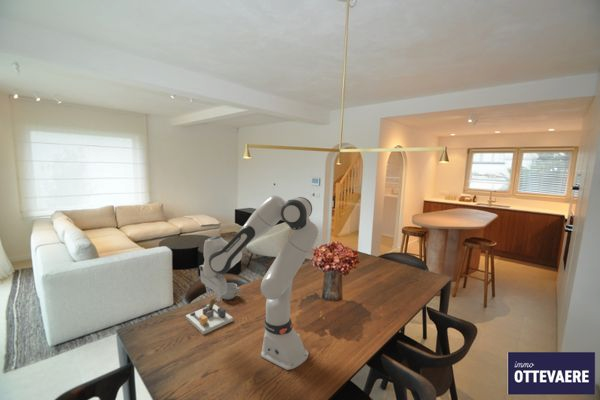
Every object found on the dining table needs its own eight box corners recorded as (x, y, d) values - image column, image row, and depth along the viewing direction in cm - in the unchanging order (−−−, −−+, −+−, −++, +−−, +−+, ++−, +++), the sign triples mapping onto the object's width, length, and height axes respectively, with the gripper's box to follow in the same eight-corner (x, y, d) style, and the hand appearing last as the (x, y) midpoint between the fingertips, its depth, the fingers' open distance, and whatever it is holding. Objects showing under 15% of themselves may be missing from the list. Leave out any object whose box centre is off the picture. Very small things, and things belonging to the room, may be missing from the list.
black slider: (225, 315, 145) (225, 309, 144) (221, 317, 143) (221, 311, 142) (221, 313, 147) (221, 307, 147) (217, 314, 146) (217, 308, 145)
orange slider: (207, 323, 137) (207, 317, 137) (203, 325, 135) (202, 319, 135) (203, 320, 140) (203, 314, 139) (199, 322, 138) (199, 316, 138)
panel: (232, 320, 144) (232, 311, 144) (203, 334, 132) (202, 324, 131) (214, 307, 158) (214, 298, 157) (185, 318, 145) (185, 309, 145)
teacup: (216, 298, 168) (215, 286, 167) (228, 292, 177) (228, 280, 176) (233, 304, 161) (232, 292, 160) (244, 297, 171) (244, 285, 170)
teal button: (213, 307, 153) (213, 305, 152) (207, 310, 150) (207, 307, 150) (210, 305, 155) (210, 303, 155) (205, 307, 152) (205, 305, 152)
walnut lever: (210, 315, 145) (217, 298, 147) (206, 315, 143) (214, 297, 145) (208, 313, 147) (215, 296, 149) (204, 313, 145) (211, 295, 147)
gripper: (230, 274, 122) (230, 303, 124) (209, 262, 136) (209, 287, 138) (217, 278, 118) (217, 307, 119) (197, 265, 132) (198, 291, 134)
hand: (213, 296), depth 129 cm, fingers open, 8 cm apart
